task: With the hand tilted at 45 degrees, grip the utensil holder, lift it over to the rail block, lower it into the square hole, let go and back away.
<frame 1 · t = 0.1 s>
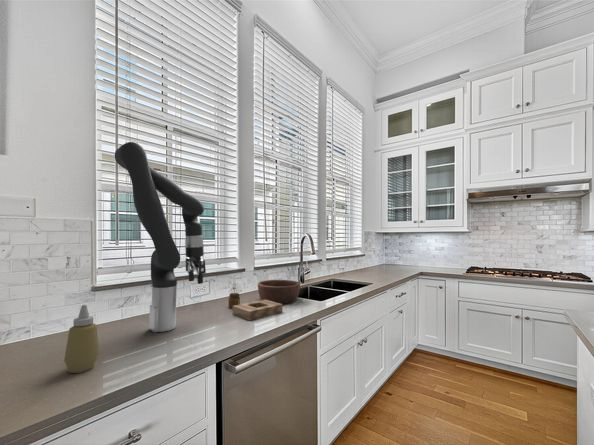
hand: (195, 282, 128), 17 cm above the countertop, tool pointing down, fingers open, 8 cm apart
squeeze bottle: (81, 369, 83), on the countertop
wooden bowl: (278, 300, 170), on the countertop
hole rail: (257, 313, 142), on the countertop
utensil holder: (234, 307, 153), on the countertop
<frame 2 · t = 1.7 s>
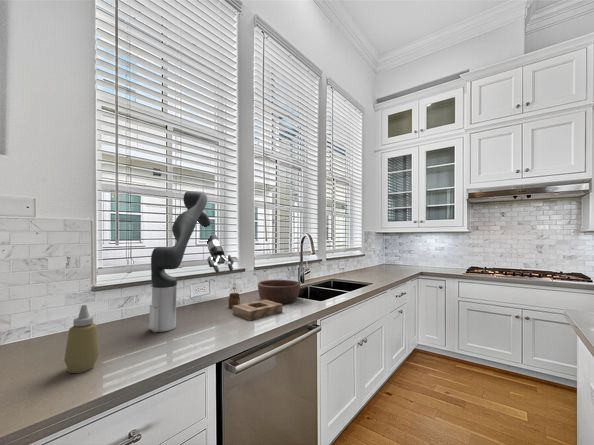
hand: (224, 271, 162), 18 cm above the countertop, tool tilted 45°, fingers open, 8 cm apart
nothing on the countertop moved.
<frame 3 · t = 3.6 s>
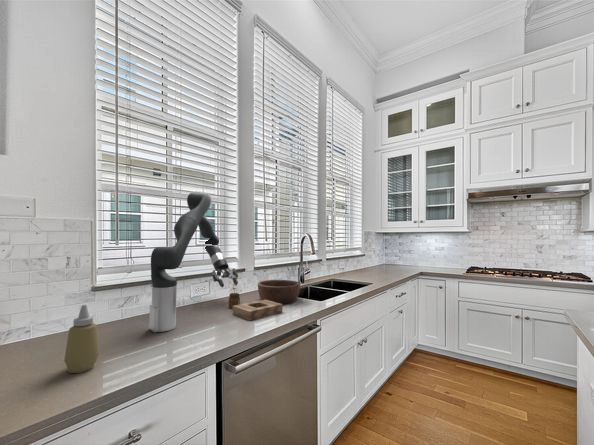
hand: (229, 285, 157), 11 cm above the countertop, tool tilted 45°, fingers open, 8 cm apart
nothing on the countertop moved.
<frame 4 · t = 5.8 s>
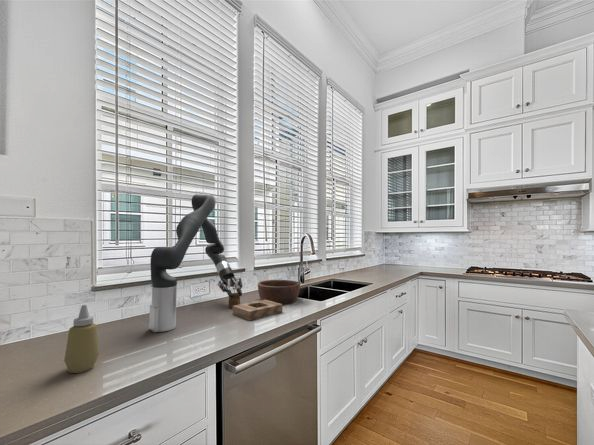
hand: (236, 296, 152), 6 cm above the countertop, tool tilted 45°, fingers closed on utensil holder, 5 cm apart
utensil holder: (234, 307, 153), on the countertop, touching gripper
everything else where it was.
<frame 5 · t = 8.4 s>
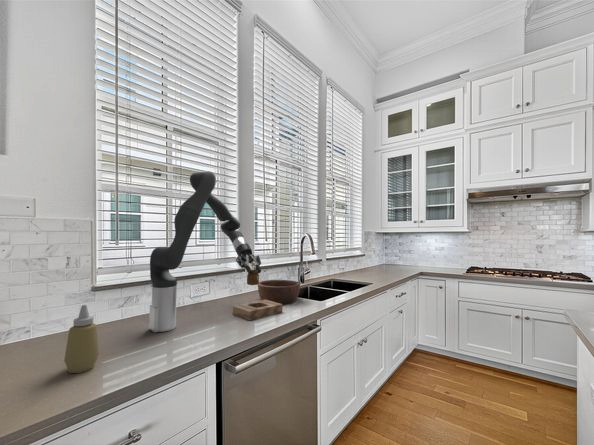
hand: (255, 272, 144), 20 cm above the countertop, tool tilted 45°, fingers closed on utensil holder, 5 cm apart
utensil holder: (252, 284, 145), point 14 cm above the countertop, touching gripper
everything else where it was.
when the fingers open (8 cm above the countertop, at t = 11.5 s): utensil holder drops 2 cm, resting in hole rail.
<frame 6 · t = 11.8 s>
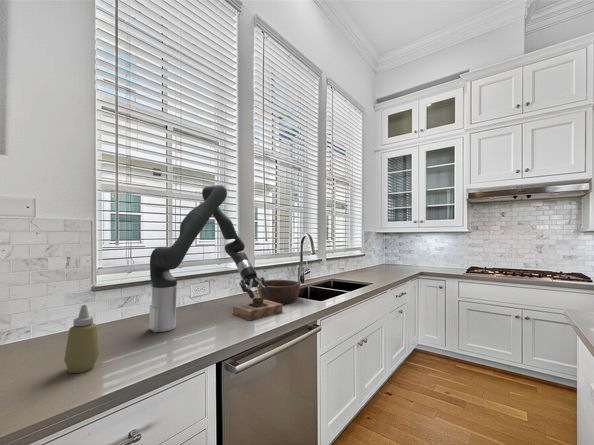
hand: (259, 296, 141), 8 cm above the countertop, tool tilted 45°, fingers open, 7 cm apart
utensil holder: (257, 313, 142), resting in hole rail
everything else where it was.
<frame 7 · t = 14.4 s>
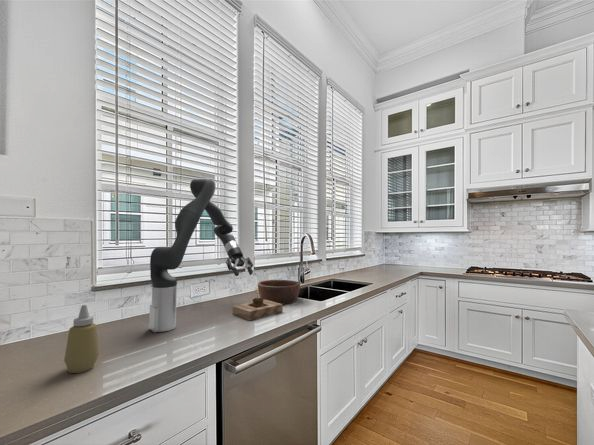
hand: (244, 274, 150), 18 cm above the countertop, tool tilted 45°, fingers open, 8 cm apart
nothing on the countertop moved.
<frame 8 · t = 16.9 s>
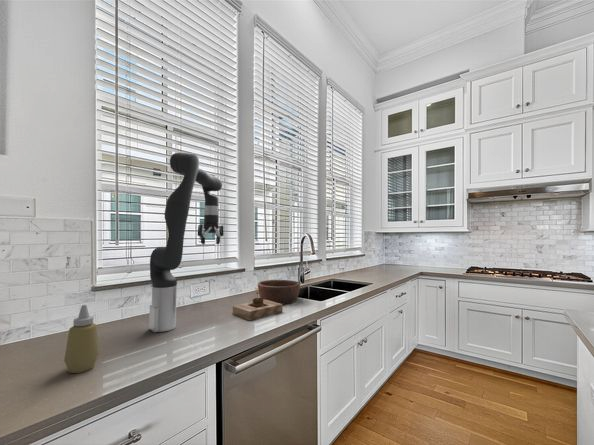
hand: (210, 244, 157), 33 cm above the countertop, tool pointing down, fingers open, 8 cm apart
nothing on the countertop moved.
at the end: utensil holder 0.2 cm off-centre on the hole rail, point 0.0 cm above the hole rail's base; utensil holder tilted 0°; the gripper is holding nothing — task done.
